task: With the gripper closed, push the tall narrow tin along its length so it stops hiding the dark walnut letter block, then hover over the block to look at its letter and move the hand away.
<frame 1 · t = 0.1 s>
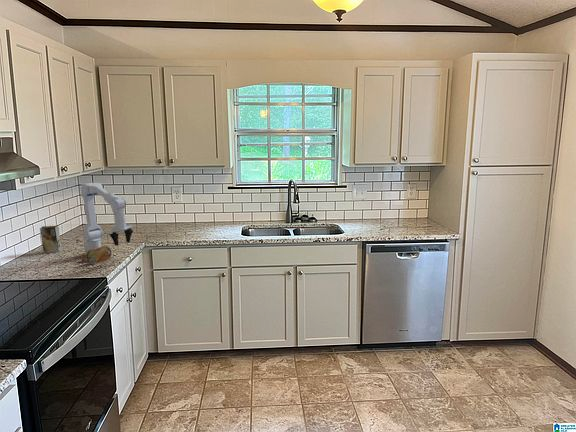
hand: (122, 243, 239), 10 cm above the worktop, tool pointing down, fingers open, 7 cm apart
coffee box: (52, 251, 267), on the worktop
letter block: (87, 261, 243), on the worktop
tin: (99, 262, 241), on the worktop
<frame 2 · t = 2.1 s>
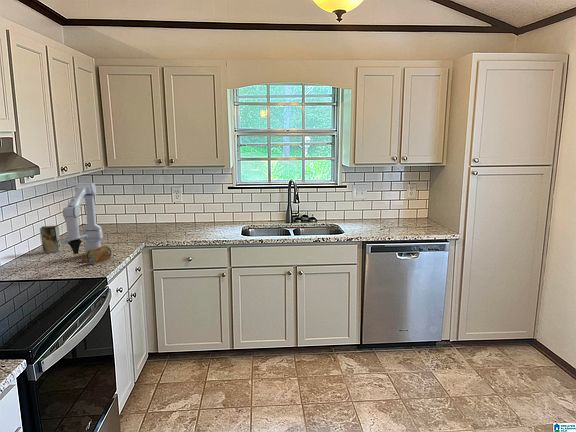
hand: (76, 253, 228), 8 cm above the worktop, tool pointing down, fingers closed
nothing on the worktop moved.
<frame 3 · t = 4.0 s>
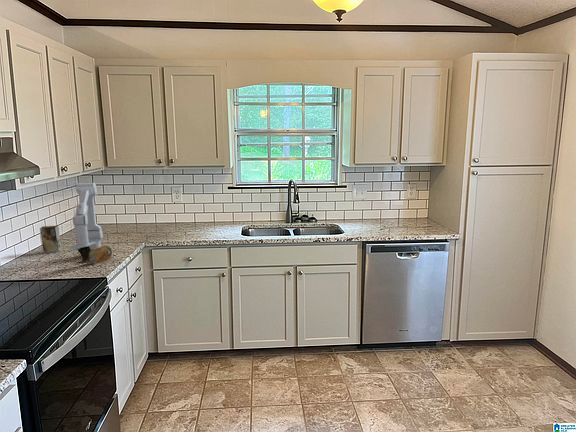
hand: (85, 260, 233), 3 cm above the worktop, tool pointing down, fingers closed
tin: (100, 261, 241), on the worktop, touching gripper
everything else where it was.
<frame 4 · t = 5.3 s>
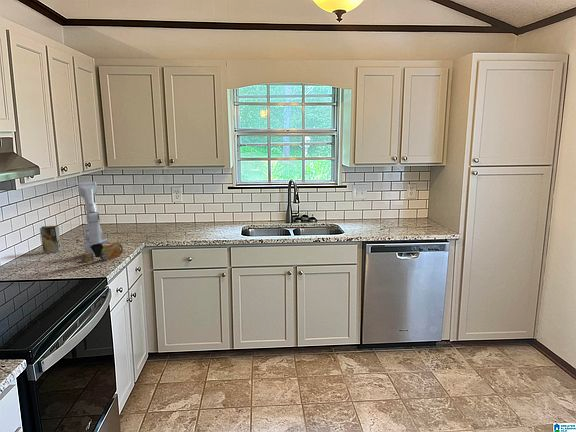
hand: (97, 257, 239), 3 cm above the worktop, tool pointing down, fingers closed
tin: (111, 258, 247), on the worktop, touching gripper
everything else where it was.
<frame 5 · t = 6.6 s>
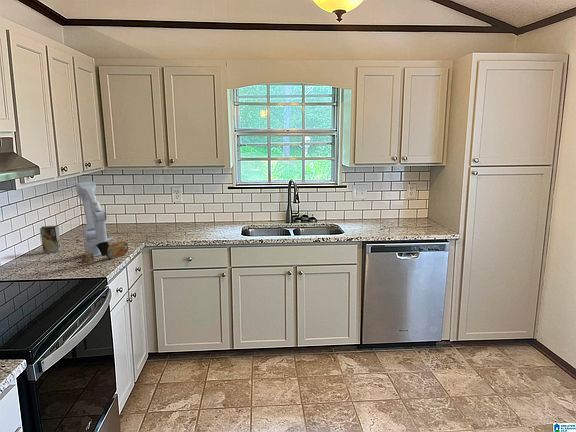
hand: (103, 255, 242), 3 cm above the worktop, tool pointing down, fingers closed
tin: (117, 256, 250), on the worktop, touching gripper
everything else where it was.
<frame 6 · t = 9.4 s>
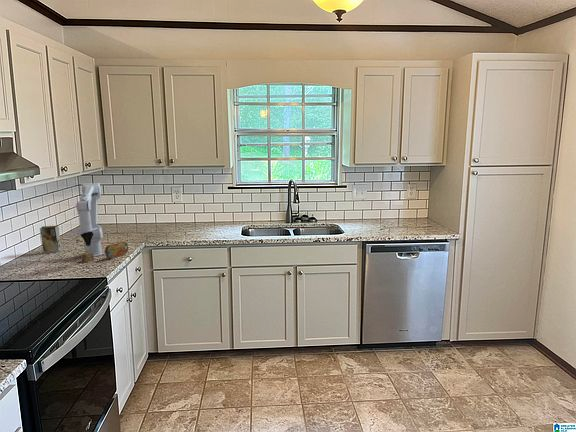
hand: (88, 245, 240), 9 cm above the worktop, tool pointing down, fingers closed
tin: (117, 257, 250), on the worktop
everything else where it was.
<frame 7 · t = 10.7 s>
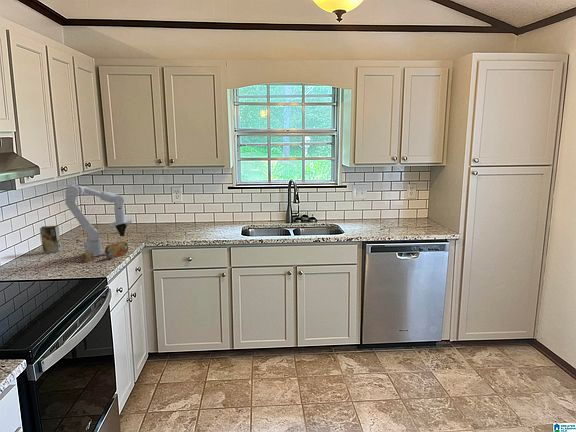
hand: (122, 236, 261), 9 cm above the worktop, tool pointing down, fingers closed
nothing on the worktop moved.
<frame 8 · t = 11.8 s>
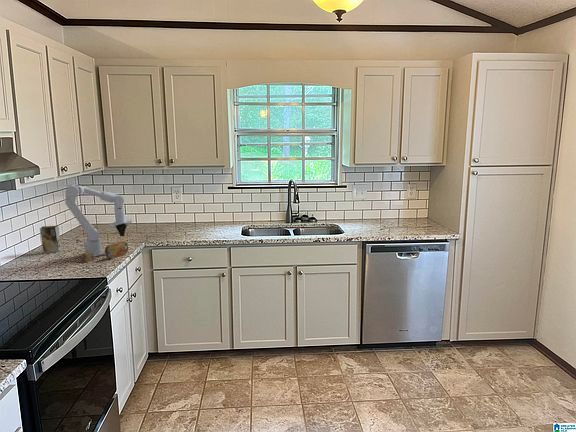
hand: (122, 236, 261), 9 cm above the worktop, tool pointing down, fingers closed
nothing on the worktop moved.
at the end: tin inside the target area (0.4 cm from its centre), on the worktop; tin tilted 0°; letter block moved 0.1 cm from its start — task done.
